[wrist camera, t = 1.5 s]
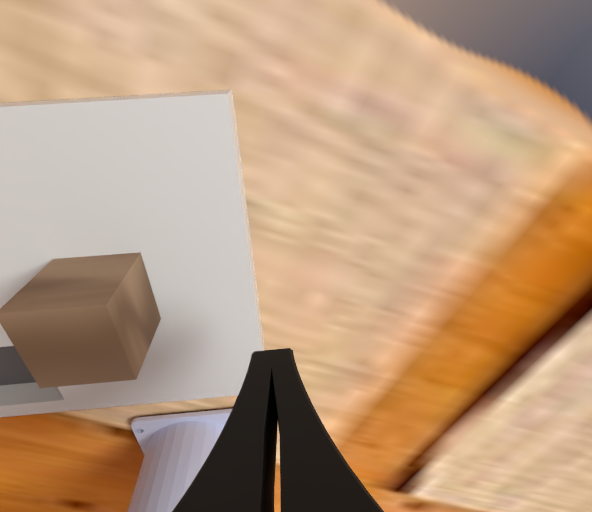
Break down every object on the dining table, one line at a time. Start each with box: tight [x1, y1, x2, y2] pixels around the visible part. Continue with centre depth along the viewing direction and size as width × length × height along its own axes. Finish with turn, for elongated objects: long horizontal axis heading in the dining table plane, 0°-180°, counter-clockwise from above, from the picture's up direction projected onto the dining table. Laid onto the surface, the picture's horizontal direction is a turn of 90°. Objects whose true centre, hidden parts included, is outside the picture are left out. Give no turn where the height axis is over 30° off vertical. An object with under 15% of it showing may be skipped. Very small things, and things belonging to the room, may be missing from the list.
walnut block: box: [0, 252, 161, 388], centre depth 15 cm, size 4×4×4 cm
